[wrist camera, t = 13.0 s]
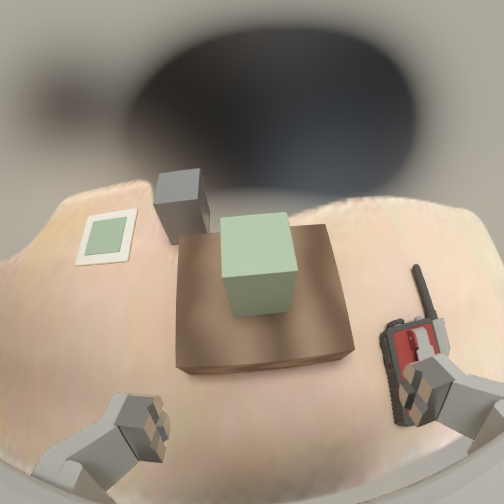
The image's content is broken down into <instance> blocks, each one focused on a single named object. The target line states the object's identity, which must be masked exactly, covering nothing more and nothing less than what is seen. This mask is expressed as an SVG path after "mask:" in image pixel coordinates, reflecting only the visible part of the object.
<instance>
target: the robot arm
mask: <svg viewBox="0 0 504 504" xmlns="http://www.w3.org/2000/svg"><path fill="white" fill-rule="evenodd" d="M403 375H404V377H405V379H404V380H403V381H402V382H401V384H400V388H399V398H400V401H401V404H402V405H403V407H404V408H406V409H409V410H410V415H409V416H410V417H411V419H412V420H413V422H414V423H415V425H416V426H417V427H420V426H422V425H425V424H428V423H430V422H433V421H435V420H437V421H438V422H440V423H442V424H443V425H445V426H447V427H449V428H451V429H453V430H455V431H457V432H459V433H461V434H463V435H465V436H467V437H469V438H471V439H473V440H474V441H473V442H472V444H471V445H470V447H469V449H468V451H467V453H468V456H466V457H464V458H463V459H461V460H460V461H458V462H456V463H454V464H452V465H450V466H449V467H447V468H445V469H443V470H441V471H439V472H437V473H435V474H433V475H431V476H429V477H427V478H425V479H423V480H420V481H419V482H416V483H414V484H412V485H409V486H407V487H404V488H402V489H399V490H397V491H394V492H391V493H389V494H386V495H383V496H380V497H377V498H374V499H371V500H368V501H365V502H361V503H358V504H504V383H501V382H497V381H493V380H489V379H486V378H482V377H478V376H475V375H471V374H468V375H465V374H464V373H463V372H462V371H461V370H460V369H459V368H458V367H457V366H456V365H455V364H454V363H453V362H452V361H451V360H450V359H449V358H447V357H446V356H445V355H444V354H442V353H439V354H436V355H434V356H431V357H429V358H426V359H423V360H420V361H417V362H413V363H410V364H407V365H406V367H405V368H404V371H403ZM162 407H163V402H162V399H161V397H160V396H158V395H146V394H134V393H122V392H117V393H115V394H114V396H113V398H112V400H111V402H110V403H109V405H108V407H107V409H106V411H105V413H104V414H103V416H102V418H101V420H100V422H99V423H96V422H95V423H93V424H92V425H90V426H88V427H87V428H85V429H83V430H81V431H80V432H78V433H76V434H74V435H73V436H71V437H69V438H67V439H65V440H64V441H62V442H60V443H58V444H56V445H54V446H52V447H51V448H49V449H47V450H45V452H44V454H43V455H42V457H41V459H40V460H39V462H38V464H37V465H36V467H35V469H34V471H33V472H32V474H31V475H29V474H27V473H25V472H23V471H21V470H19V469H17V468H15V467H14V466H12V465H10V464H8V463H7V462H5V461H3V460H2V459H0V504H116V502H115V501H114V500H113V499H112V498H111V497H110V496H109V495H108V494H107V493H106V491H107V490H108V489H109V488H110V487H112V486H113V485H114V484H115V483H116V482H117V481H118V480H119V479H121V478H122V477H123V476H124V475H125V474H126V473H127V472H128V471H129V470H130V469H132V468H133V467H134V466H135V465H136V464H137V463H138V462H139V461H147V462H157V463H163V459H164V455H165V451H166V447H165V445H164V442H165V441H166V440H167V439H169V434H170V422H169V417H168V415H167V413H166V412H165V411H163V410H162Z"/></svg>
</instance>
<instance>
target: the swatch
mask: <svg viewBox="0 0 504 504" xmlns="http://www.w3.org/2000/svg"><path fill="white" fill-rule="evenodd" d="M137 213H138V208H136V209H129V210H123V211H116V212H110V213H104V214H98V215H92V216H89V217H88V220H87V223H86V226H85V230H84V233H83V237H82V240H81V244H80V248H79V251H78V255H77V259H76V263H75V266H87V265H98V264H109V263H120V262H129V256H130V250H131V244H132V238H133V233H134V228H135V223H136V218H137Z"/></svg>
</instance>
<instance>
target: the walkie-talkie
mask: <svg viewBox="0 0 504 504" xmlns="http://www.w3.org/2000/svg"><path fill="white" fill-rule="evenodd" d="M413 272H414V274H415V277H416V280H417V283H418V286H419V289H420V292H421V295H422V298H423V301H424V304H425V308H426V311H427V314H426V315H427V318H425V319H421V316H418V317H416V318H414V319H415V321H413V322H409V323H405V324H404V320H403V319H397V320H394V321H391V322H389V323H388V324H387V328H388V329H386V330H385V331H384V332H382V333H381V334H380V337H379V340H380V344H381V349H382V353H383V358H384V363H385V368H386V374H387V375H388V377H387V378H388V380H389V381H388V383H389V387H390V392H391V395H390V396H391V398H392V399H391V401H392V406H393V408H392V410H393V412H394V413H393V414H394V419H395V422H394V423H396V424H397V425H399V426H413V425H415V423H414V422H413V420H412V419H411V417H410V416H409V415H410V410H409V409H406V408H404V407H403V405H402V404H401V401H400V398H399V388H400V384H401V382H402V381H403V380H404V379H405V377H404V375H403V371H404V368H405V367H406V365H407V364H410V363H413V362H417V361H420V360H423V359H426V358H429V357H431V356H434V355H436V354H439V353H442V354H444V355H445V356H446V357H447V358H448V355H449V352H450V344H449V340H448V336H447V332H446V329H445V322H444V318H440V319H438V317H437V314H436V311H435V310H434V308H433V304H432V301H431V298H430V295H429V292H428V289H427V286H426V283H425V280H424V277H423V275H422V272H421V269H420V266H419V265H418V264H415V265H414V266H413Z"/></svg>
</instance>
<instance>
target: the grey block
mask: <svg viewBox="0 0 504 504" xmlns="http://www.w3.org/2000/svg"><path fill="white" fill-rule="evenodd" d="M153 205H154V208H155V210H156V212H157V214H158V216H159V219H160V221H161V223H162V225H163V227H164V229H165V232H166V234H167V236H168V238H169V240H170V242H171V244H172V245H176V244H179V241H180V236H190V235H200V234H209V226H210V225H209V222H210V211H209V206H208V202H207V198H206V193H205V189H204V185H203V180H202V176H201V171H200V168H199V169H190V170H182V171H175V172H168V173H161V174H159V178H158V183H157V187H156V192H155V197H154V202H153Z"/></svg>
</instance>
